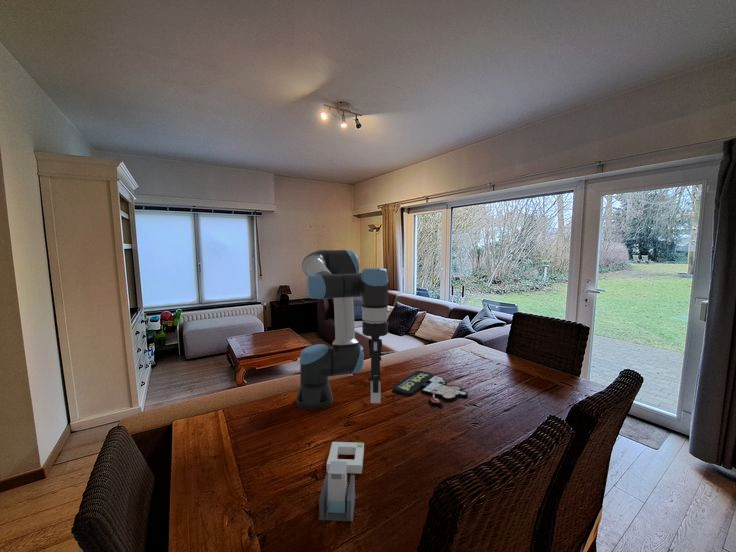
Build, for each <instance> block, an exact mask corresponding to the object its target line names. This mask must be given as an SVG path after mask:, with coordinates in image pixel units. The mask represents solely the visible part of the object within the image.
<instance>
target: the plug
mask: <svg viewBox="0 0 736 552" xmlns="http://www.w3.org/2000/svg"><path fill="white" fill-rule="evenodd" d="M327 474H328V512H329V513H345V510H346V504H347V493H348V473H347V462H337V461H331V463H330V467H329V471H328V472H327Z"/></svg>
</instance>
